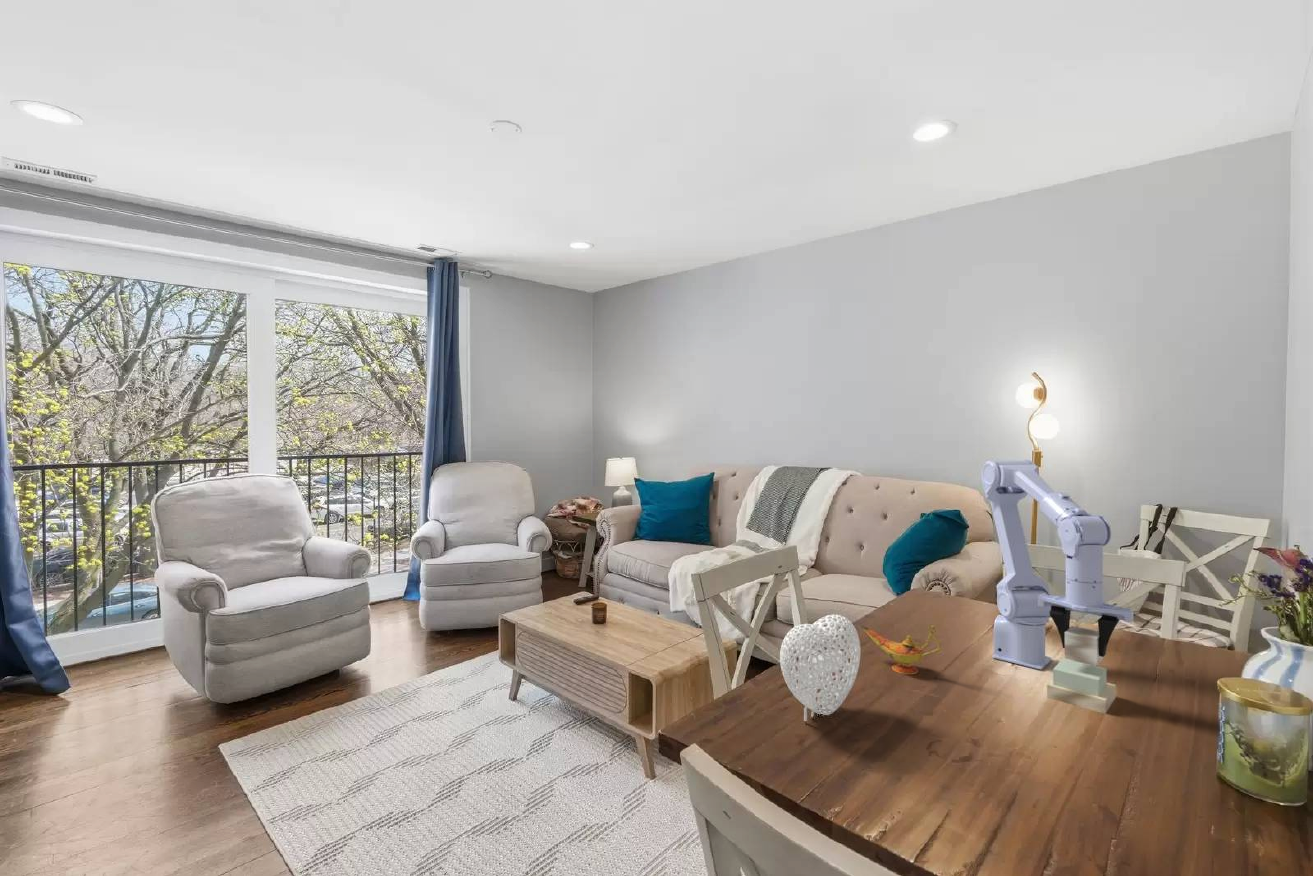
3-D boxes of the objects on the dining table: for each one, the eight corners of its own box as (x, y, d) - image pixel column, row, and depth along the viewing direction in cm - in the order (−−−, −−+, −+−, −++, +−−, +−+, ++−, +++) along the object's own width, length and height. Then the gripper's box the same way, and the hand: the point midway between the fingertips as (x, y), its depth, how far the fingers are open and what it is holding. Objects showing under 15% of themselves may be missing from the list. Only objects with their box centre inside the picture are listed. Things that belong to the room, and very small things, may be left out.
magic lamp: (866, 651, 138) (866, 603, 137) (947, 675, 124) (947, 622, 124) (850, 659, 133) (850, 610, 133) (932, 685, 119) (932, 630, 119)
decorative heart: (827, 690, 118) (826, 603, 117) (876, 710, 109) (875, 617, 109) (765, 718, 107) (764, 623, 106) (814, 743, 98) (813, 640, 98)
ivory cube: (1064, 658, 113) (1064, 632, 113) (1071, 651, 117) (1071, 626, 117) (1096, 666, 110) (1096, 638, 109) (1103, 658, 113) (1103, 632, 113)
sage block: (1053, 684, 113) (1053, 669, 113) (1062, 673, 118) (1062, 658, 118) (1098, 696, 108) (1098, 680, 108) (1106, 684, 113) (1106, 668, 113)
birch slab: (1047, 700, 113) (1047, 685, 113) (1059, 686, 120) (1059, 671, 120) (1105, 717, 107) (1105, 700, 107) (1115, 700, 113) (1115, 685, 113)
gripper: (1033, 576, 115) (1033, 646, 116) (1128, 591, 105) (1128, 668, 105) (1044, 570, 120) (1044, 637, 120) (1135, 583, 110) (1135, 657, 110)
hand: (1083, 651), depth 113 cm, fingers closed on ivory cube, 5 cm apart
